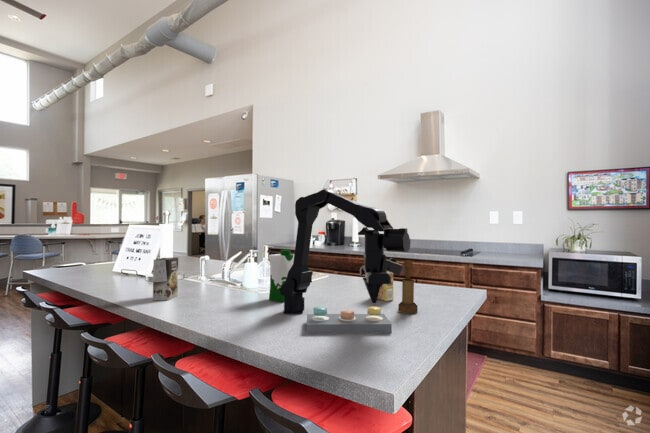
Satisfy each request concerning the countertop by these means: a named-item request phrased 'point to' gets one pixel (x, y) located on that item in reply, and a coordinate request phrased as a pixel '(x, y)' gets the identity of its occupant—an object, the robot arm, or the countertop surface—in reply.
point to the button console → (348, 324)
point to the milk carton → (279, 273)
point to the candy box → (386, 290)
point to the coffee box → (165, 278)
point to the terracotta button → (347, 314)
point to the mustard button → (374, 311)
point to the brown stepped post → (407, 292)
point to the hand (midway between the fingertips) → (373, 303)
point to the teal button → (320, 311)
